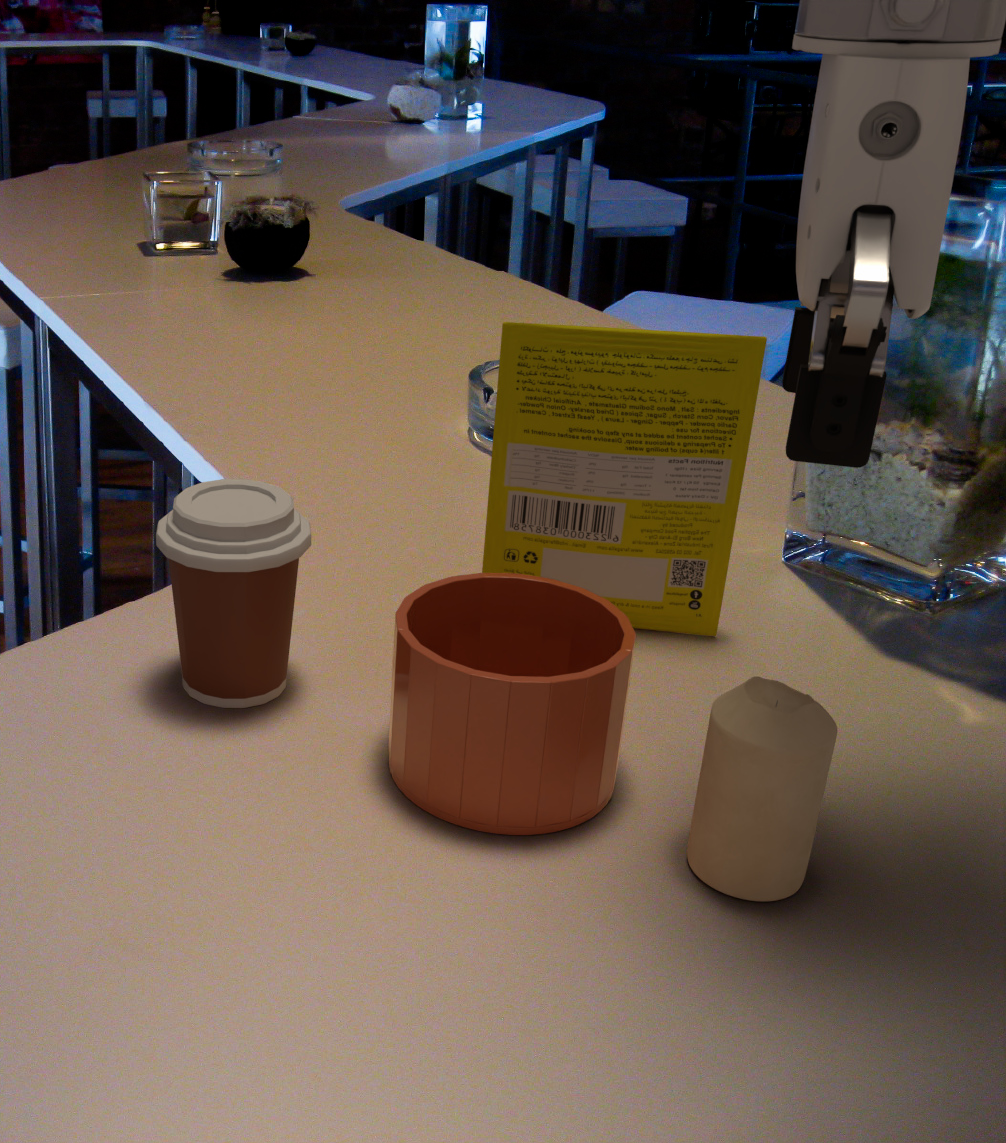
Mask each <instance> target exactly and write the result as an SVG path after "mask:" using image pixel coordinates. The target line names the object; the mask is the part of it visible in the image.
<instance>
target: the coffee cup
mask: <svg viewBox="0 0 1006 1143" xmlns="http://www.w3.org/2000/svg"><path fill="white" fill-rule="evenodd" d="M294 500H295V499H294V497H292V495H290V494H289V493H288V492H287V491H285V489H283V488H282V487H280V486H277V485H275V484H271V483H269V482H266V481H261V480H254V479H248V478H221V479H216V480H209V481H202V482H199V483H197V484H193V485H191V486H188V487H185V489H184V490H182V491H181V492H180V493H178V495H176V496H175V497H174V498H173V504H172V509H171V510H170V511H169V512H168V513H167V514H166V515H164V516H163V517H161V519H160V520H158V522H157V527H156V532H155V545H156V547H157V548H158V549H159V550H160V552H161V553H162V554H163V555H164V556H165V557H166V558H167V559H168V563H169V564H168V565H169V574H170V582H171V592H172V600H173V607H174V608H173V610H174V617H175V624H176V625H175V626H176V633H177V634H176V635H177V642H178V651H179V660H180V669H181V678H182V688H183V689H184V691H185V692H186V693H187V695H188V696H189V697H191V698H193V699H195V700H197V701H198V702H200V703H202V704H204V705H208V706H213V707H217V708H220V709H221V708H222V709H246V708H251V707H256V706H261V705H265V704H267V703H269V702H271V701H273V700H274V699H276V698H278V697H280V696H281V694H282V693H283V691H284V690H285V689H286V688H287V677H288V668H289V658H290V649H291V639H292V630H293V622H294V621H293V620H294V612H295V611H294V610H295V603H296V602H295V600H296V591H297V582H298V575H299V574H298V573H299V563H300V559H301V558H302V557H303V555H304V554H305V553H306V552H307V551H308V550H309V549H310V547H311V546H312V528H311V522H310V520H309V519H308V518H306V517H305V516H304V515H303V514H302V513H301V512H299V510H297V509H296V508H295V501H294Z"/></svg>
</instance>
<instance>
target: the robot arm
mask: <svg viewBox="0 0 1006 1143" xmlns="http://www.w3.org/2000/svg"><path fill="white" fill-rule="evenodd" d="M1005 26H1006V0H799V3H798V10H797V16H796V23H795V27H794V28H795V29H794V34H793V39H792V46H791V49H793V50H795V51H802V52H805V53H811V54H822V56H821V62H820V68H819V72H818V79H817V85H816V92H815V98H814V103H813V108H812V109H813V110H812V116H811V121H810V122H811V123H810V127H809V135H808V141H807V148H806V152H805V153H806V154H805V159H804V166H803V174H802V182H801V190H800V197H799V198H800V199H799V207H798V217H797V231H796V246H795V247H796V248H795V276H796V278H795V279H796V286H797V295H798V300H799V302H800V306H795V308H794V313H793V317H792V318H793V319H792V324H791V328H790V336H789V340H788V347H787V351H786V352H787V353H786V357H785V365H784V368H783V376H782V381H781V382H782V383H781V384H782V388H783V390H784V391H785V392H787V393H792V394H794V400H793V404H792V405H793V406H792V410H791V416H790V421H789V425H788V433H787V438H786V444H785V455H786V457H787V458H788V460H790V461H793V462H798V463H799V462H800V463H809V464H818V465H827V466H828V465H829V466H835V467H847V468H855V469H858V468H859V469H860V468H863V467H865V466H866V465H867V464H868V463H869V460H870V457H871V451H872V448H873V443H874V439H875V434H876V426H877V424H878V420H879V419H878V418H879V415H880V409H881V404H882V400H883V395H884V391H885V390H884V389H885V386H886V380H887V376H888V374H887V371H885V369H886V365H887V358H888V350H889V340H890V331H891V322H892V313H893V308H894V299H895V301H896V305H897V307H898V309H899V310H904V312H905V315H906V317H907V318H908V319H911V320H912V319H915V320H916V319H918V318H920V317H921V316H923V315H924V314H926V313H927V312H928V311H929V310H930V307H931V304H932V297H933V293H934V288H935V281H936V276H937V269H938V264H939V258H940V252H941V247H942V241H943V237H944V231H945V225H946V219H947V215H948V209H949V204H950V199H951V195H952V194H951V193H952V187H953V183H954V178H955V171H956V165H957V161H958V156H959V149H960V142H961V138H962V137H961V136H962V130H963V124H964V118H965V110H966V101H967V93H968V84H969V83H968V82H969V75H970V74H969V72H970V62H971V61H970V60H971V58H981V57H983V58H984V57H991V56H994V55H998V54H999V52H1000V49H1001V45H1002V38H1003V34H1004V29H1005Z"/></svg>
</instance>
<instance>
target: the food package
mask: <svg viewBox="0 0 1006 1143" xmlns="http://www.w3.org/2000/svg"><path fill="white" fill-rule="evenodd" d="M501 327H502V328H501V338H500V339H501V340H500V348H499V349H500V351H499V360H498V362H499V363H498V375H497V384H496V385H497V386H496V397H495V398H496V399H495V411H494V421H493V433H492V434H493V436H492V446H491V459H490V470H489V471H490V472H489V483H488V496H487V508H486V520H485V530H484V531H485V532H484V544H483V556H482V557H483V558H482V568H481V573H516V574H524V575H531V576H537V577H544V578H550V579H554V580H558V581H561V582H564V583H568V584H571V585H575V586H578V587H581V588H584V589H586V590H588V591H590V592H592V593H594V594H596V595H598V596H600V597H602V598H604V599H606V600H608V601H609V602H611V603H612V604H613V605H615V606H616V607H617V608H618V609H619V610H620V611H622V612H623V613H624V614H625V615H626V616H627V617H628V618H629V620H630V623H631V625H632V627H633V629H637V630H638V629H639V630H650V631H659V632H670V633H679V634H688V635H697V636H707V637H717V635H718V630H719V622H720V618H721V611H722V606H723V600H724V595H725V594H724V593H725V587H726V583H727V582H726V581H727V575H728V571H729V566H730V559H731V552H732V546H733V542H734V535H735V529H736V525H737V524H736V523H737V518H738V512H739V507H740V506H739V505H740V500H741V494H742V489H743V482H744V476H745V470H746V464H747V459H748V453H749V447H750V441H751V435H752V431H753V430H752V429H753V424H754V418H755V412H756V406H757V401H758V396H759V395H758V394H759V388H760V383H761V377H762V371H763V365H764V359H765V358H764V357H765V353H766V348H767V342H768V337H767V336H764V335H763V336H762V335H761V336H760V335H748V334H747V335H745V334H729V333H728V334H727V333H710V332H693V331H677V330H662V329H661V330H660V329H658V330H657V329H643V328H642V329H641V328H626V327H625V328H623V327H621V328H620V327H609V326H608V327H607V326H592V325H591V326H587V325H572V324H571V325H569V324H553V323H552V324H551V323H536V322H535V323H533V322H516V321H515V322H514V321H513V322H512V321H503V322H502V325H501Z"/></svg>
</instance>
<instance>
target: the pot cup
mask: <svg viewBox="0 0 1006 1143" xmlns="http://www.w3.org/2000/svg"><path fill="white" fill-rule="evenodd" d="M393 630H394V631H393V647H392V648H393V649H392V650H393V651H392V652H393V653H392V669H391V688H390V689H391V690H390V708H389V725H388V746H387V748H388V768H389V772H390V775H391V777H392V780H393V782H394V783H395V785H396V786H397V788H398V789H399V790H400V792H402V794H403V795H404V796H405V797H406V798H407V799H408V800H410V801H411V802H412V803H413V804H414V805H416V806H417V807H419V808H420V809H421V810H423V811H425V812H427V813H428V814H430V815H432V816H434V817H436V818H438V819H440V820H443V821H445V822H447V823H450V824H452V825H456V826H458V827H463V828H465V829H469V830H474V831H478V832H483V833H490V834H495V835H507V836H508V835H509V836H532V835H544V834H550V833H557V832H561V831H563V830H568V829H570V828H573V827H577V826H579V825H581V824H583V823H585V822H587V821H588V820H590V819H592V818H594V817H595V816H597V815H598V814H599V813H600V812H601V811H602V810H603V809H604V808H605V807H607V805H608V803H609V802H610V800H611V798H612V797H613V793H614V790H615V784H616V778H617V774H618V768H619V760H620V754H621V747H622V740H623V732H624V724H625V718H626V711H627V705H628V704H627V703H628V697H629V690H630V682H631V676H632V669H633V661H634V654H635V648H636V647H635V646H636V640H637V633H636V630H635V628H633V627H632V625H631V623H630V620H629V618H628V617H627V616H626V615H625V614H624V613H623V612H622V611H620V610H619V609H618V608H617V607H616V606H615V605H613V604H612V603H611V602H609V601H608V600H606V599H604V598H602V597H600V596H598V595H596V594H594V593H592V592H590V591H588V590H586V589H584V588H581V587H578V586H575V585H571V584H568V583H564V582H561V581H558V580H554V579H550V578H544V577H537V576H531V575H524V574H516V573H482V572H476V573H468V574H460V575H453V576H447V577H445V578H441V579H438V580H435V581H432V582H429V583H426V584H423V585H421V586H420V587H418V588H416V590H414V591H412V592H410V593H409V594H408V595H406V596H405V597H404V598H403V599H402V601H401V602H400V604H399V606H398V608H397V610H396V612H395V614H394V629H393Z"/></svg>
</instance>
